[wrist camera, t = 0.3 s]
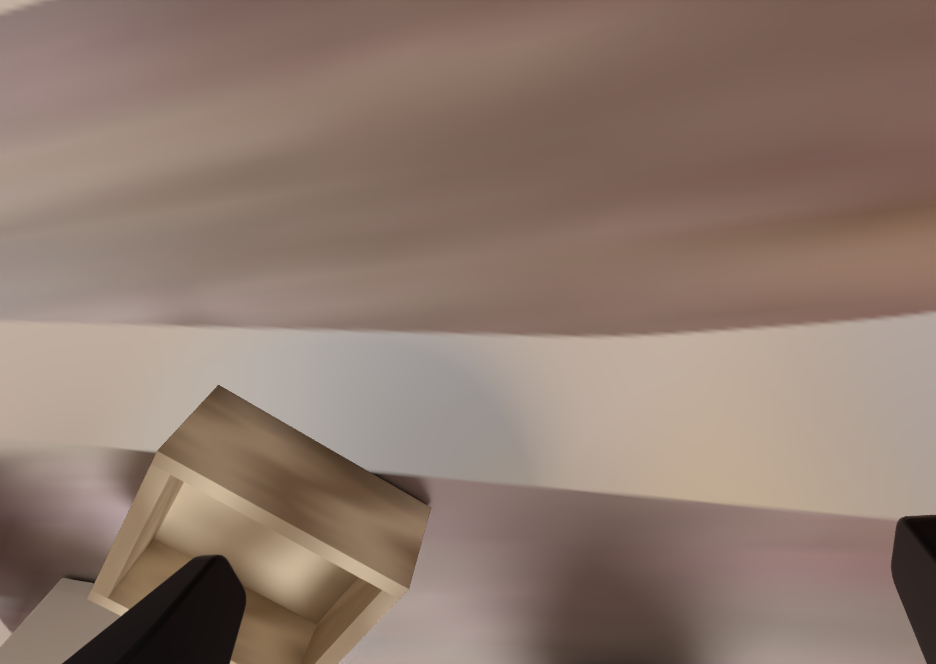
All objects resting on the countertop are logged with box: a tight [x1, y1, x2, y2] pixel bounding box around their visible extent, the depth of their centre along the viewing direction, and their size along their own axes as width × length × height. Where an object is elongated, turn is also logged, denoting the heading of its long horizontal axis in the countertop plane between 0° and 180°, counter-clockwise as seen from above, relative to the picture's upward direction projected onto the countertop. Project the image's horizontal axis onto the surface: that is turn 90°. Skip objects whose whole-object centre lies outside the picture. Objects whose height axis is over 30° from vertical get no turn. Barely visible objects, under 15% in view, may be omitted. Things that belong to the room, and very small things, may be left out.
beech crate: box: [87, 385, 431, 664], centre depth 28 cm, size 11×11×4 cm
